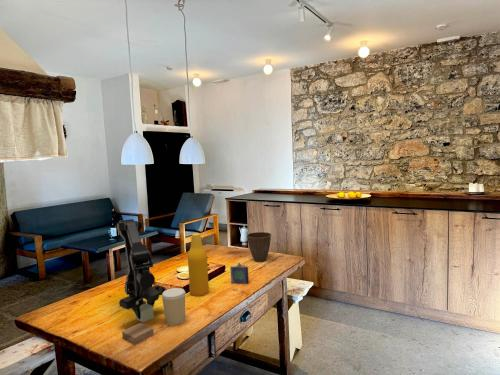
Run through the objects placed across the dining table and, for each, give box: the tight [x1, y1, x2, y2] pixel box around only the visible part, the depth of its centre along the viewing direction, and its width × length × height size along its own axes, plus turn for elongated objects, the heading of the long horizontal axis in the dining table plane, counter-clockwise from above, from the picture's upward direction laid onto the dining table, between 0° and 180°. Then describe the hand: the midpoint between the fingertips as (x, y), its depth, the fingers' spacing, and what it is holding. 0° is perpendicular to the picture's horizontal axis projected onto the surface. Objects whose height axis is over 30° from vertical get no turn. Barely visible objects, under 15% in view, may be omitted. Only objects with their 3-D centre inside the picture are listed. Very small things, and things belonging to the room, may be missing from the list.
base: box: [121, 322, 155, 346], centre depth 129 cm, size 8×8×3 cm
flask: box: [230, 262, 249, 285], centre depth 177 cm, size 9×3×11 cm, turn 79°
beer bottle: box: [187, 232, 210, 297], centre depth 166 cm, size 9×9×29 cm
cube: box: [135, 302, 155, 324], centre depth 143 cm, size 5×5×5 cm
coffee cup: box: [161, 287, 186, 326], centre depth 139 cm, size 9×9×12 cm
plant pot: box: [246, 231, 272, 263], centre depth 212 cm, size 15×15×16 cm
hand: (144, 316), depth 143 cm, fingers closed on cube, 5 cm apart
